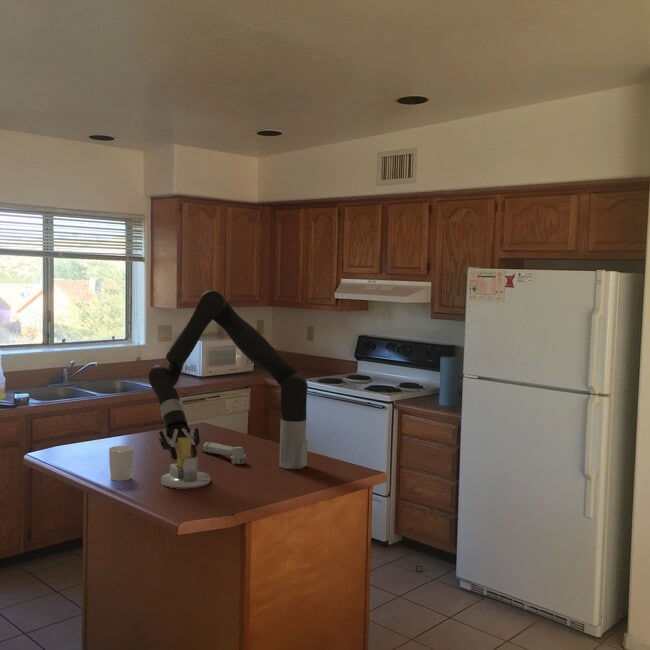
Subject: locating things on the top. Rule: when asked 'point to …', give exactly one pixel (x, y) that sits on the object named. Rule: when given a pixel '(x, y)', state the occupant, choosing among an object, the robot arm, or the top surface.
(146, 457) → the top surface
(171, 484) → the round grey holder stand
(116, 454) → the white cup
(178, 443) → the yellow block
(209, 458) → the top surface
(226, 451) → the white long round-headed device
